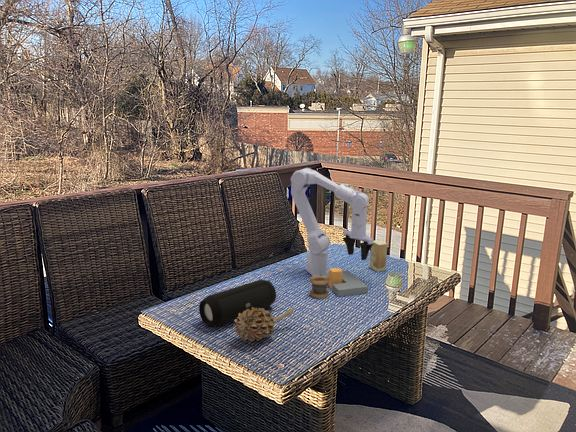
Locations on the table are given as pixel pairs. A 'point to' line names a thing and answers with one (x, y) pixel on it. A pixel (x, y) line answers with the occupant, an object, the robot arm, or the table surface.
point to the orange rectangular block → (335, 276)
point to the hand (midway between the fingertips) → (357, 257)
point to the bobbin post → (319, 286)
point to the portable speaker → (236, 302)
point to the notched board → (348, 285)
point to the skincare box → (378, 255)
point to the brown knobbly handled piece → (257, 323)
